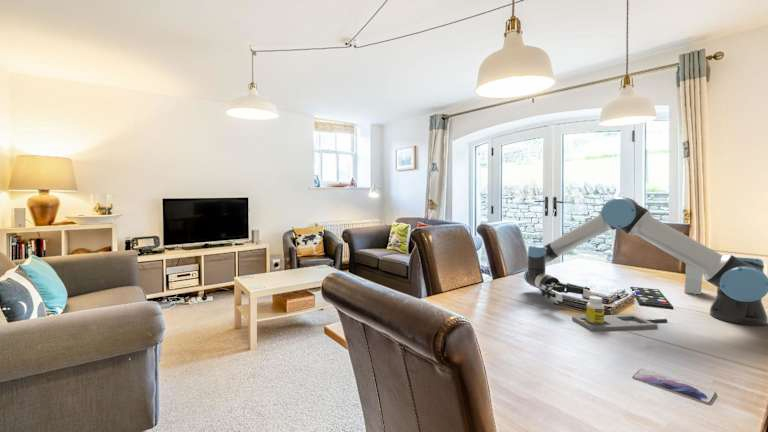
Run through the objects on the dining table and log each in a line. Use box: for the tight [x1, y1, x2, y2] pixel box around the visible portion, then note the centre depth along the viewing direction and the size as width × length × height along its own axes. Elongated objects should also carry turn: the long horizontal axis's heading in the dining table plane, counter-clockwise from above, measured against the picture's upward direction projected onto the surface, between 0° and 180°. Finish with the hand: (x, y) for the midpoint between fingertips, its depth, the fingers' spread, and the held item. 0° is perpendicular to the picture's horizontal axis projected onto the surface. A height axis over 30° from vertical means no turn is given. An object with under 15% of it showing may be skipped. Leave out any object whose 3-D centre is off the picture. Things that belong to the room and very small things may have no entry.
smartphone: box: [631, 368, 718, 406], centre depth 85 cm, size 7×1×15 cm
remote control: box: [629, 286, 674, 310], centre depth 159 cm, size 11×30×2 cm, turn 151°
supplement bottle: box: [585, 295, 605, 325], centre depth 126 cm, size 5×5×10 cm
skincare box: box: [683, 263, 703, 295], centre depth 166 cm, size 8×6×15 cm
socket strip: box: [571, 313, 668, 332], centre depth 127 cm, size 32×11×2 cm, turn 95°
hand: (578, 297), depth 135 cm, fingers open, 13 cm apart
